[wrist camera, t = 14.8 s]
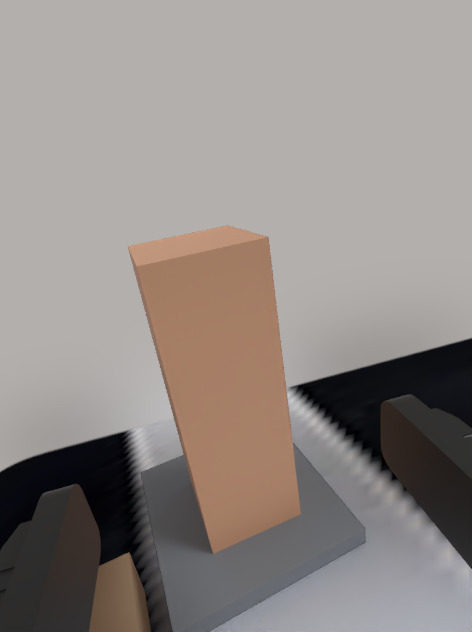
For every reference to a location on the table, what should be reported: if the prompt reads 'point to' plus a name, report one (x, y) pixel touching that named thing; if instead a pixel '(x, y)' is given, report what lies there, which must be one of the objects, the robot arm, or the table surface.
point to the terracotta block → (223, 375)
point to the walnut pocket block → (119, 599)
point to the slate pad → (239, 546)
